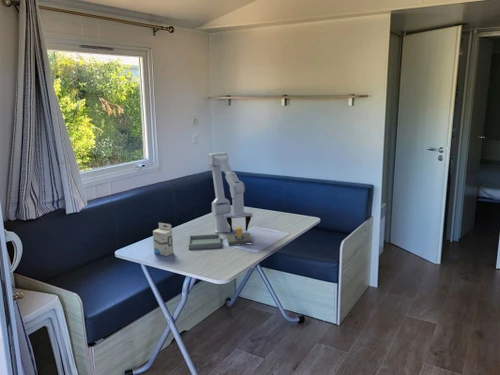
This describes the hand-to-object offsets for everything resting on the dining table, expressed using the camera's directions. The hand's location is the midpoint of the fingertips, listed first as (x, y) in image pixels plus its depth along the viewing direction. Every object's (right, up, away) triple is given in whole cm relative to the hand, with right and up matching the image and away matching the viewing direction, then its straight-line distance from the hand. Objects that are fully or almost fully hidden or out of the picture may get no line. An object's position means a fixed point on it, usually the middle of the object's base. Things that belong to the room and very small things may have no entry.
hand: (239, 231), depth 229 cm
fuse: (0, -5, +1) cm, 5 cm away
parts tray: (-18, -6, -1) cm, 19 cm away
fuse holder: (0, -5, +1) cm, 5 cm away
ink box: (-36, -10, -13) cm, 40 cm away
